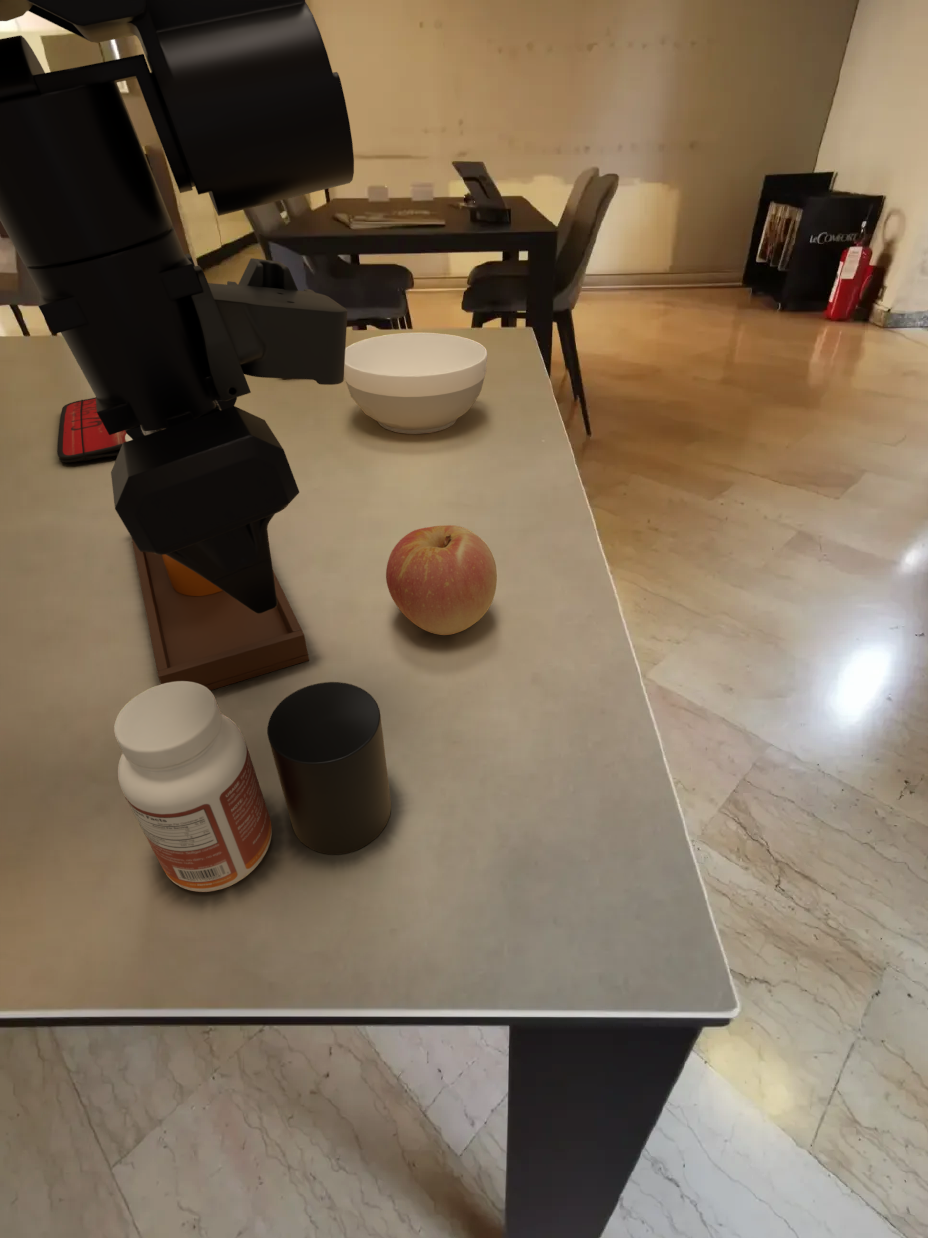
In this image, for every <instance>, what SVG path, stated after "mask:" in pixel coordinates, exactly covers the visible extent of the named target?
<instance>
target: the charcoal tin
mask: <svg viewBox="0 0 928 1238" xmlns="http://www.w3.org/2000/svg"><path fill="white" fill-rule="evenodd" d="M266 729H267V730H266V734H267V739H268V742H269V747H270V750H271V753H272V757H273V761H274V764H275V768H276V772H277V776H278V779H279V782H280V786H281V790H282V795H283V797H284V801H285V805H286V809H287V812H288V815H289V819H290V823H291V826H292V829H293V833H294V834H295V836H296V837H297V839H298V840H299V841H300V842H301V843H302V844H303V845H304V846H306V847H307V848H309V849H311V850H313V851H314V852H317V853H321V854H326V855H343V854H348V853H352V852H355V851H357V850H360V849H362V848H364V847H365V846H367V845H369V844H370V843H372V842H373V841H374V840H375V839H377V838H378V836H379V835H381V833H382V832H383V830H384V829H385V827H387V825H388V822H389V820H390V817H391V811H392V801H391V792H390V784H389V776H388V766H387V759H386V751H385V749H386V748H385V743H384V733H383V726H382V717H381V710H380V707H379V704H378V702H377V700H376V699H375V698H374V697H373V696H372V694H370V692H368V691H366V690H365V689H363V688H361V687H360V686H357V685H354V684H352V683H347V682H342V681H327V682H326V681H325V682H319V683H314V684H310V685H307V686H305V687H302V688H300V689H298V690H296V691H294V692H292V693H290V694H289V695H288V696H286V697H285V698H283V699H282V700H281V701H280V702H279V703H278V704H277V705H276V707H275V708H274V709H273V711H272V713H271V714H270V716H269V719H268V722H267V728H266Z"/></svg>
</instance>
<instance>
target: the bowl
mask: <svg viewBox="0 0 928 1238" xmlns="http://www.w3.org/2000/svg"><path fill="white" fill-rule="evenodd" d="M487 365H488V350H487V349H486V347H485V346H484V345H482V344H481V343H480V342H478V341H476V340H473V339H471V338H467V337H464V336H460V335H454V334H448V333H437V332H402V333H401V332H400V333H391V334H384V335H377V336H372V337H369V338H365V339H361V340H359V341H356V342H354V343H352V344H350V345H348V346H346V347H345V365H344V381H345V384H346V387H347V389H348V392H349V394H350V397H351V398H352V400H353V401H354V402H355V403H356V404H357V406H358V407H359V408H360V410H362V412H363V413H364V414H365V415H366V416H368V417H369V418H371V419H372V420H374V421H376V422H377V423H378V425H379V426H381V427H382V428H383V429H385V430H388V431H390V432H395V433H399V434H406V435H422V434H430V433H436V432H440V431H444V430H446V429H448V428H450V427H452V426H453V425H454V424H456V422H457V420H458V419H459V418H460V417H462V416H463V415H465V414H466V413H468V411H469V410H470V409H471V408H472V407H473V405H474V403H475V402H476V400H477V399H478V397H479V396H480V394H481V392H482V390H483V385H484V383H485V378H486V374H487V367H488V366H487Z"/></svg>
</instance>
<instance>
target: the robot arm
mask: <svg viewBox="0 0 928 1238" xmlns="http://www.w3.org/2000/svg"><path fill="white" fill-rule="evenodd" d="M27 12H29V13H30V14H31V13H32V14H33V15H35V16H37V17H39V18H41V19H43V20H45V21H48V22H50V23H51V24H54V25H56V26H57V27H60V28H62V29H63V30H66V31H68V32H70V33H72V34H74V35H76V36H78V37H80V38H82V39H84V40H86V41H88V42H91V43H97V44H98V43H99V44H100V43H102V42H108V41H113V40H119V39H123V38H128V37H133V36H135V37H137V39H138V41H139V43H140V46H141V49H142V51H143V53H141V54H135V55H131V56H126V57H122V58H115V59H112V60H111V59H110V60H106V61H102V62H96V63H92V64H91V63H90V64H86V65H82V66H81V65H80V66H76V67H70V68H65V69H59V70H53V71H49V72H46V71H45V69H44V68H43V66H42V64H41V62H40V60H39V58H38V57H37V55H36V53H35V52H34V50H33V48H32V47H31V45H30V44H29V42H28V41H27V39H26V38H25V37H24V36H23V35H15V36H8V37H4V38H0V223H1V225H2V227H3V229H4V230H5V232H6V234H7V236H8V238H9V240H10V241H11V243H12V245H13V247H14V249H15V250H16V252H17V254H18V257H19V258H20V260H21V262H22V263H23V265H24V266H25V269H26V271H27V273H28V275H29V276H30V278H31V280H32V282H33V283H34V286H35V287H36V290H37V291H38V293H39V301H38V308H39V310H40V313H41V314H42V316H43V318H44V319H45V322H46V323H47V325H48V326H49V328H50V330H51V332H52V334H53V335H56V334H60V333H61V335H62V337H63V339H64V340H65V343H66V344H67V346H68V348H69V350H70V352H71V354H72V356H73V357H74V359H75V361H76V363H77V365H78V366H79V368H80V370H81V372H82V374H83V376H84V377H85V379H86V382H87V383H88V385H89V387H90V389H91V391H92V392H93V394H94V397H96V408H97V414H98V415H99V417H100V419H101V421H102V423H103V424H104V426H105V428H106V430H107V432H108V434H109V435H112V434H115V433H118V432H121V431H124V430H125V431H126V433H127V434H128V435H129V436H130V437H131V438H132V439H133V440H130V441H127V442H124V443H123V444H122V447H121V449H120V452H119V454H118V455H116V459H115V461H114V464H113V466H112V469H111V471H110V476H111V485H112V494H113V503H114V511H115V512H116V513H117V515H118V517H119V518H120V520H121V522H122V523H123V525H124V527H125V528H126V530H127V533H128V534H129V535H130V537H131V540H132V539H133V540H134V542H135V544H136V545H137V547H138V549H139V550H140V551H141V552H152V553H155V554H157V555H164V554H166V555H167V556H169V557H171V558H172V559H174V560H176V561H177V562H179V563H181V564H182V565H184V566H186V567H187V568H189V569H191V570H192V571H194V572H196V573H197V574H199V575H200V576H202V577H203V578H205V579H206V580H208V581H209V582H211V583H213V584H214V585H216V586H217V587H218V588H220V589H221V590H223V591H224V592H226V593H227V594H229V595H230V596H232V597H233V598H235V599H236V600H238V601H239V602H240V603H242V604H243V605H245V606H246V607H248V608H249V609H251V610H252V611H254V612H255V613H258V614H260V613H263V612H266V611H268V610H270V609H273V608H275V607H276V606H277V605H278V601H277V595H276V588H275V581H274V574H273V571H274V569H273V562H272V561H273V560H272V556H271V555H272V554H271V548H270V541H269V532H268V531H269V529H268V526H269V524H270V522H271V520H272V519H273V518H274V516H275V515H276V514H279V512H281V511H283V510H285V509H286V508H287V507H288V506H289V505H290V504H291V502H293V500H294V499H295V498H296V497H297V496H298V495H299V494H300V489H299V487H298V484H297V481H296V479H295V476H294V474H293V471H292V468H291V466H290V463H289V461H288V457H287V454H286V452H285V449H284V448H283V446H282V445H281V443H280V441H279V440H278V438H277V437H276V435H275V433H274V432H273V430H272V429H271V427H270V426H269V424H268V423H267V421H266V420H265V419H264V418H262V417H259V416H257V415H255V414H252V413H250V412H248V411H246V410H244V409H242V408H240V407H237V406H236V403H237V400H238V398H239V397H242V396H245V395H248V394H251V393H252V391H251V389H250V386H249V383H248V381H247V379H246V376H249V377H255V378H262V379H263V378H264V379H265V378H266V379H268V378H269V379H286V380H288V379H290V380H309V381H311V380H313V381H315V383H317V384H318V385H324V386H325V385H327V386H335V385H339V384H342V383H343V382H344V381H345V379H344V365H345V348H346V347H347V346H346V345H347V330H348V329H347V328H348V326H347V325H348V310H347V309H346V308H345V307H344V306H343V305H342V304H340V303H338V302H337V301H335V300H334V299H333V298H331V297H329V296H328V295H325V294H323V293H319V292H315V291H314V290H313V289H309V288H304V289H303V290H299V288H298V287H297V284H296V282H295V280H294V277H293V275H292V272H291V270H290V268H289V267H288V266H287V265H285V264H284V263H282V262H281V261H277V260H271V259H263V258H261V259H260V258H252V257H251V258H250V259H249V261H248V263H247V265H246V268H245V269H244V272H243V273H242V276H241V278H240V280H239V282H238V283H237V282H236V281H232V280H231V281H230V280H228V281H226V283H225V284H224V283H212V282H208V279H207V277H206V274H205V272H204V270H203V268H202V267H201V266H200V265H199V264H198V265H196V264H195V262H194V260H193V257H192V255H190V253H185V252H184V250H183V247H182V243H181V242H180V239H179V237H178V234H177V232H176V230H175V227H174V224H173V222H172V219H171V216H170V214H169V212H168V209H167V206H166V204H165V201H164V199H163V196H162V193H161V191H160V189H159V186H158V184H157V180H156V178H155V175H154V173H153V171H152V168H151V166H150V164H149V160H148V158H147V156H146V153H145V150H144V148H143V146H142V143H141V140H140V137H139V136H138V133H137V130H136V127H135V125H134V123H133V120H132V118H131V116H130V112H129V111H128V108H127V105H126V103H125V100H124V98H123V95H122V92H121V90H120V87H119V85H118V83H122V82H125V81H131V80H135V79H136V81H137V84H138V87H139V89H140V91H141V94H142V98H143V99H144V102H145V105H146V108H147V110H148V113H149V116H150V118H151V120H152V123H153V126H154V129H155V131H156V134H157V136H158V140H159V142H160V144H161V147H162V151H163V152H164V155H165V159H166V160H167V163H168V165H169V168H170V171H171V173H172V176H173V179H174V181H175V184H176V187H177V189H178V192H179V194H183V193H187V192H191V191H193V187H195V191H196V193H197V195H198V196H200V195H204V194H207V193H208V195H209V198H210V200H211V203H212V205H213V207H214V210H215V213H216V214H217V216H218V217H220V216H225V215H228V214H233V213H236V212H240V211H244V210H248V209H251V208H256V207H260V206H264V205H268V204H272V203H276V202H280V201H284V200H288V199H293V198H295V197H300V196H304V195H307V194H313V193H315V192H316V193H317V192H319V191H324V190H327V189H332V188H335V187H339V186H344V185H347V184H350V183H351V182H353V179H354V174H355V157H354V146H353V137H352V130H351V123H350V117H349V113H348V108H347V103H346V99H345V94H344V93H345V92H344V89H343V85H342V80H341V77H340V75H339V73H338V71H335V72H334V71H333V69H332V66H331V61H330V58H329V54H328V52H327V49H326V46H325V42H324V40H323V36H322V34H321V32H320V29H319V26H318V24H317V21H316V19H315V17H314V14H313V12H312V11H311V9H310V7H309V5H308V4H307V2H306V0H0V22H9V21H11V20H14V19H17V18H20V17H23V16H25V14H26V13H27ZM245 375H246V376H245Z"/></svg>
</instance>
